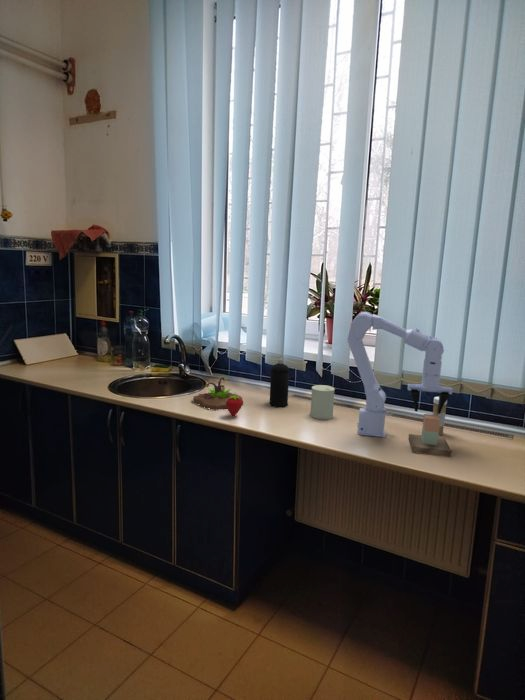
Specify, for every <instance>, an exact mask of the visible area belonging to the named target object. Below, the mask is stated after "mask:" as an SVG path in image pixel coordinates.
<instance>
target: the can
mask: <svg viewBox="0 0 525 700" xmlns="http://www.w3.org/2000/svg"><path fill="white" fill-rule="evenodd" d="M335 390H336V388H335V386H334V387H333V386H331V385H326V384H325V385H324V384H317V385H313V386H311V395H310V396H311V397H310V398H311V399H310V400H311V402H310V411H309V412H310V413H309V416H310V417H311V418H313V417H314V419H316V418H317V419H316V420H331V419H333V418H334V404H335V403H334V402H335V401H334V400H335Z"/></svg>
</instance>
